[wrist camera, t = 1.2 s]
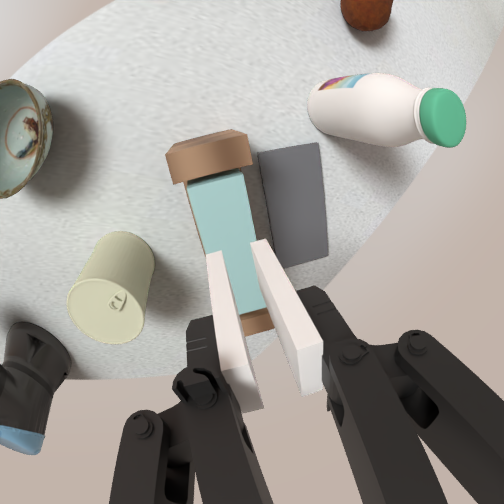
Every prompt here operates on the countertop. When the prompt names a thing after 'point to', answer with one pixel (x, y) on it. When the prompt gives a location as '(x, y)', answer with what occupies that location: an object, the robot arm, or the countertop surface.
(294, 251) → the mat
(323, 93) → the milk bottle
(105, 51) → the countertop surface
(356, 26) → the potato
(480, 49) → the countertop surface
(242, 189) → the slab
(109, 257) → the can
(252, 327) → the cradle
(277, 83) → the countertop surface
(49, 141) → the bowl
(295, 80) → the countertop surface
